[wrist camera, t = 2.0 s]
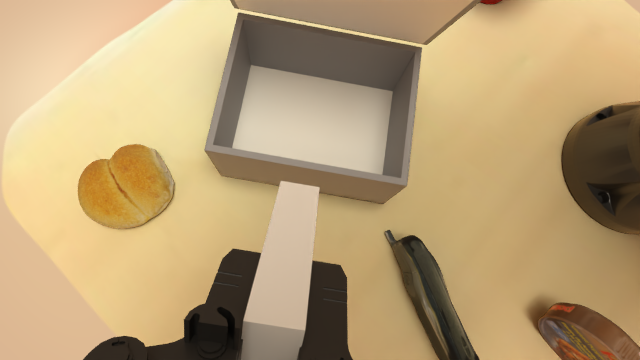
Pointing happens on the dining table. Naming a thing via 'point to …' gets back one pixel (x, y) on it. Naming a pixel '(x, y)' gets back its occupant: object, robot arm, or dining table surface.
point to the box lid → (370, 15)
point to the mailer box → (315, 109)
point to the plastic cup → (490, 1)
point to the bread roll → (126, 187)
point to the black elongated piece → (431, 299)
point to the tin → (585, 335)
